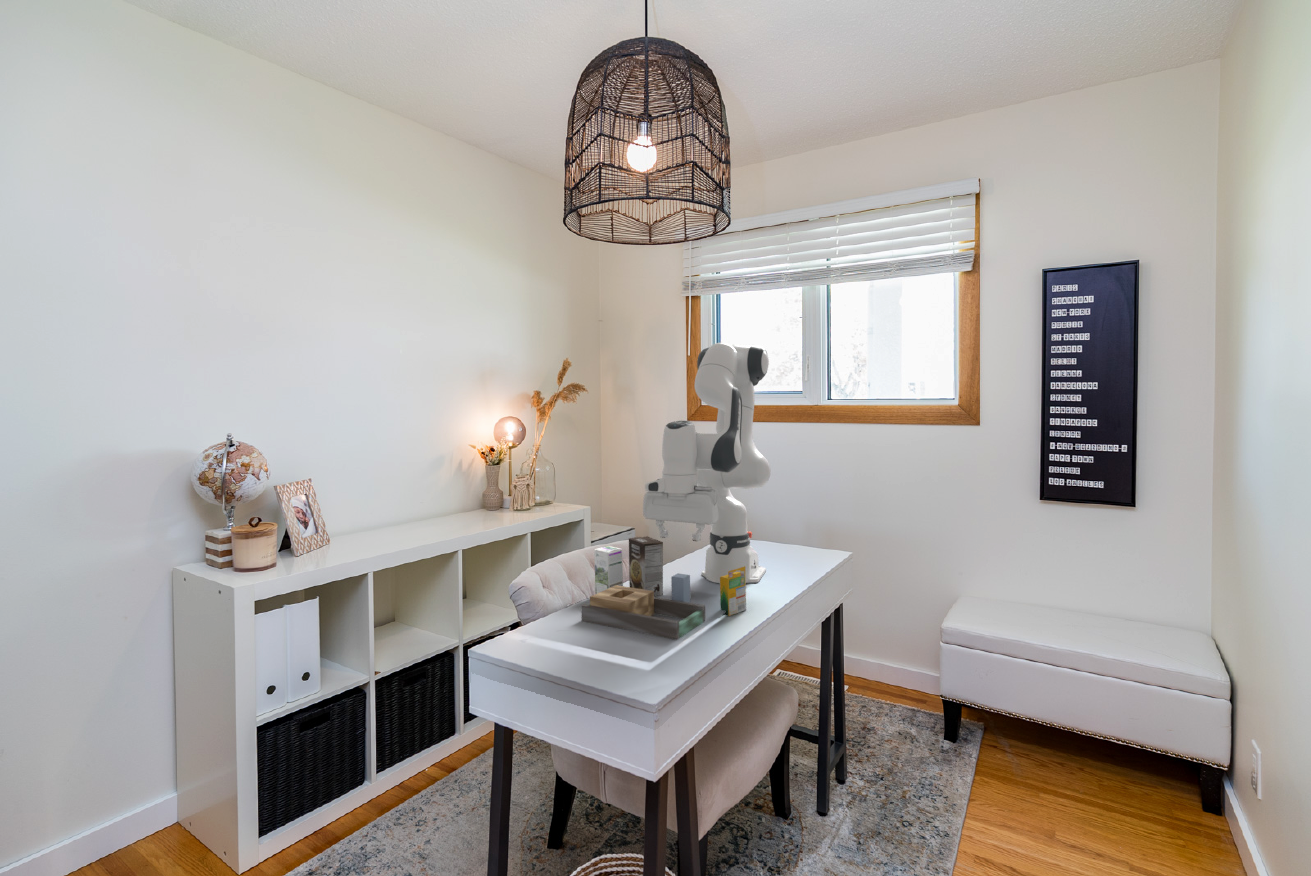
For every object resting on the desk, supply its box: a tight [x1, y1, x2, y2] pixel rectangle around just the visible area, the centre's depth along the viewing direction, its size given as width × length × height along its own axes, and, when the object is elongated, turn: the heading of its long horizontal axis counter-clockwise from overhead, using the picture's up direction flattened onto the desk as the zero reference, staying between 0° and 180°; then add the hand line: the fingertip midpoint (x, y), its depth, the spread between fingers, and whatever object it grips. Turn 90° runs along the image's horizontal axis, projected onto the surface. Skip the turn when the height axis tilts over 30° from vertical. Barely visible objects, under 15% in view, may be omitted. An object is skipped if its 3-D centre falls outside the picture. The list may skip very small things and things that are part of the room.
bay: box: [580, 596, 706, 641], centre depth 156 cm, size 14×26×5 cm, turn 59°
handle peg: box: [670, 572, 691, 603], centre depth 164 cm, size 4×4×10 cm
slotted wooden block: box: [589, 585, 655, 616], centre depth 159 cm, size 11×11×6 cm
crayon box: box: [719, 566, 747, 617], centre depth 165 cm, size 7×3×12 cm, turn 134°
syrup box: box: [594, 545, 624, 594], centre depth 176 cm, size 6×6×14 cm
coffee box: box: [628, 535, 664, 597], centre depth 180 cm, size 9×6×16 cm
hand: (680, 539), depth 163 cm, fingers open, 8 cm apart
